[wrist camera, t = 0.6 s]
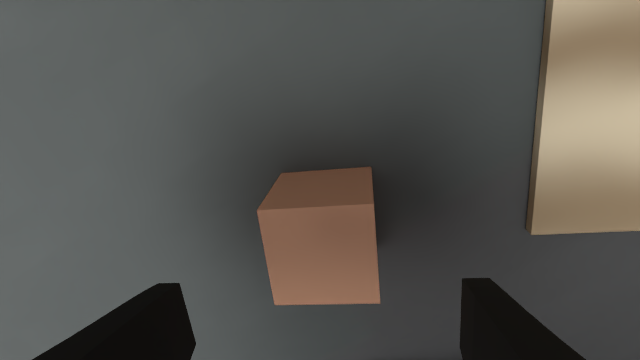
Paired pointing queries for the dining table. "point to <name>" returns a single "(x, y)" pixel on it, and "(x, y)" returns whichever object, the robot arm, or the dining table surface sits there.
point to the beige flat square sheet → (587, 120)
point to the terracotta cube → (321, 237)
